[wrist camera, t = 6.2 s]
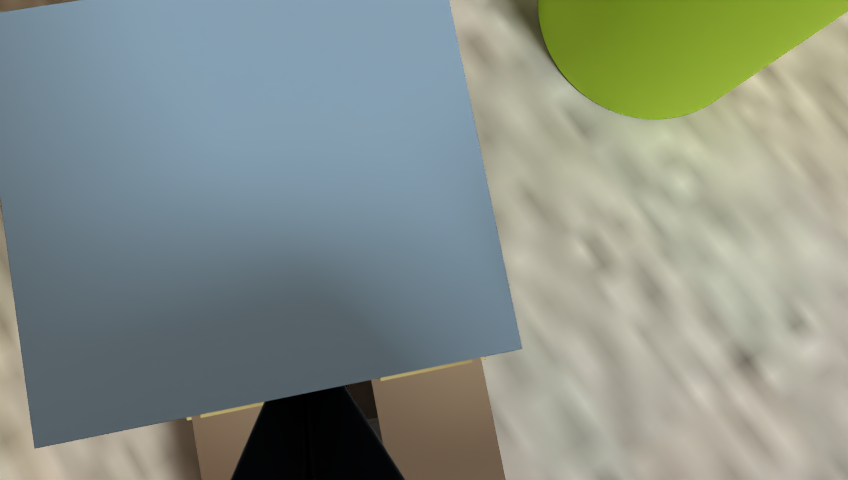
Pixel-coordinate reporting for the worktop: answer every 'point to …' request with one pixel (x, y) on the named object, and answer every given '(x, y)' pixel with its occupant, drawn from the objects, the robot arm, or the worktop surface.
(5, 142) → the rider
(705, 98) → the soap dispenser
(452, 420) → the slotted wooden board
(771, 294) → the worktop surface
